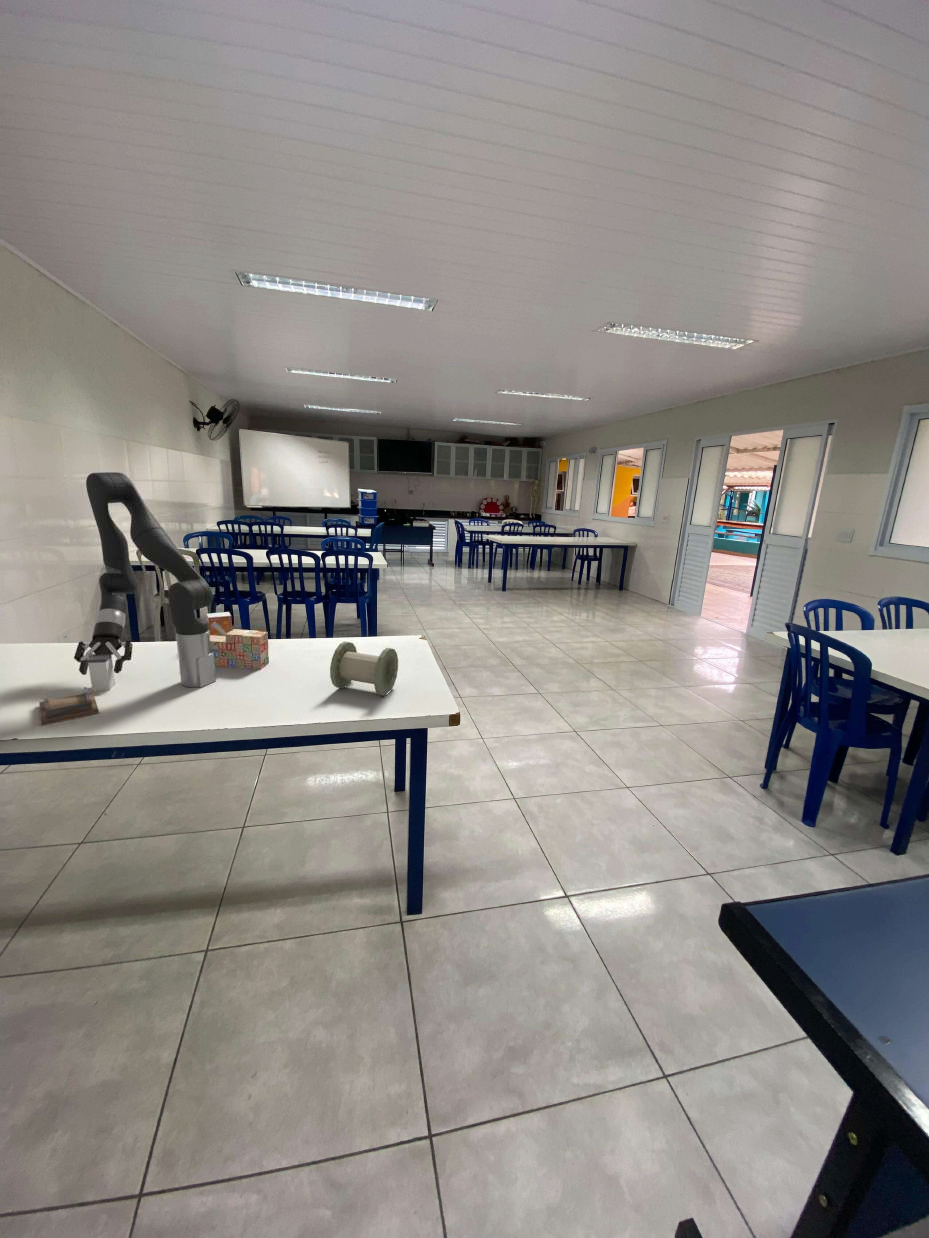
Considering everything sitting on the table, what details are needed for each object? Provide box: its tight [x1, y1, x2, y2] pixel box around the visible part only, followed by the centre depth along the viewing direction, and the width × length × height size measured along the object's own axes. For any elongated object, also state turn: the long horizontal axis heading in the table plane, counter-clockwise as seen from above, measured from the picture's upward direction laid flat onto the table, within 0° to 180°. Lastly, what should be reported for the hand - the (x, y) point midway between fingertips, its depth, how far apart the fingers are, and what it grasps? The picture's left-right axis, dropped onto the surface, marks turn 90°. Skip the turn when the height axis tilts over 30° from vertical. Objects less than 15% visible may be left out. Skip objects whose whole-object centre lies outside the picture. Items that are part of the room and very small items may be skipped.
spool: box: [329, 641, 399, 697], centre depth 156 cm, size 16×15×15 cm
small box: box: [205, 611, 233, 636], centre depth 188 cm, size 8×6×13 cm
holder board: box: [38, 686, 100, 726], centre depth 133 cm, size 14×12×3 cm
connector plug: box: [88, 654, 116, 692], centre depth 147 cm, size 4×4×10 cm
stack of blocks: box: [210, 628, 270, 670], centre depth 171 cm, size 21×6×12 cm, turn 86°
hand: (100, 673), depth 146 cm, fingers open, 8 cm apart
